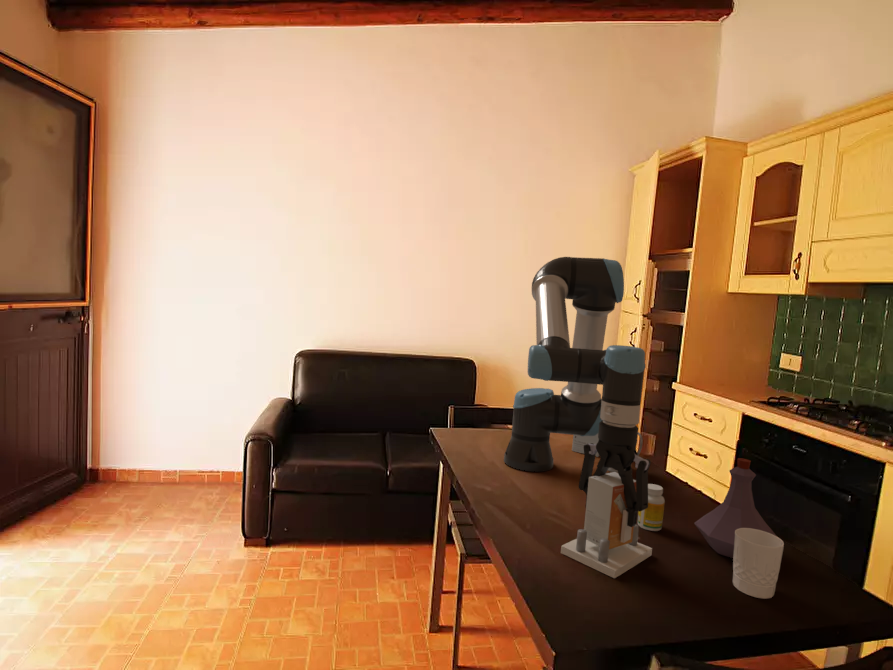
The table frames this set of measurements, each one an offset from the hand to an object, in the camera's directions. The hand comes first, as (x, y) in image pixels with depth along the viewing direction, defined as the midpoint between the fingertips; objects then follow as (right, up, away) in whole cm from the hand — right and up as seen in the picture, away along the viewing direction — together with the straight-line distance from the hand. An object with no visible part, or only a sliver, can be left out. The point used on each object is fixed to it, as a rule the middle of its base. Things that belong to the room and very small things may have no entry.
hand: (608, 533), depth 109 cm
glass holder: (+21, -2, +55) cm, 59 cm away
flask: (+29, -6, +6) cm, 30 cm away
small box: (0, -2, 0) cm, 2 cm away
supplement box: (+16, 0, +75) cm, 76 cm away
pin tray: (0, -4, 0) cm, 4 cm away
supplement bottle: (+14, -4, +15) cm, 21 cm away
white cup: (+24, -7, -10) cm, 27 cm away
